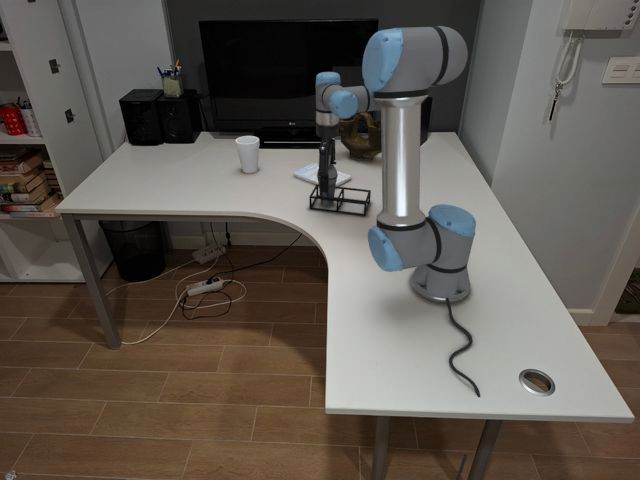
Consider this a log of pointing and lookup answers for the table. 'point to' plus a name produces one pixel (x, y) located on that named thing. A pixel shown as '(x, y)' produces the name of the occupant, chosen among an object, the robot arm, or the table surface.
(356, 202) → the rack
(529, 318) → the table surface
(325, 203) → the beverage cup
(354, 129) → the pottery vessel
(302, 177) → the calculator
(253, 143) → the foam cup
